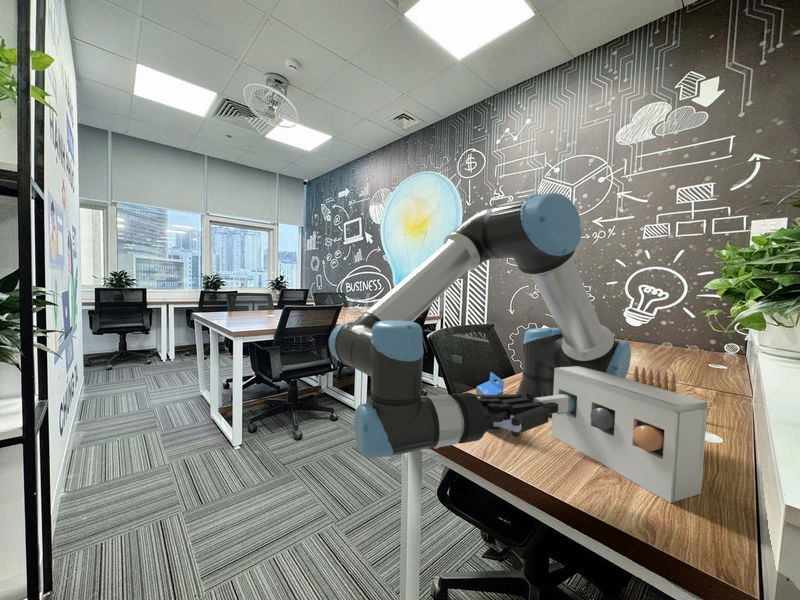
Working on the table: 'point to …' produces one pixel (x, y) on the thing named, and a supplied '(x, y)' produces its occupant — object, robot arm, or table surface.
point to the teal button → (569, 405)
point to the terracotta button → (649, 437)
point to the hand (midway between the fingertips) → (564, 402)
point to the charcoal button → (603, 418)
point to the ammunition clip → (657, 379)
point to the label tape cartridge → (491, 389)
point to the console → (634, 406)
